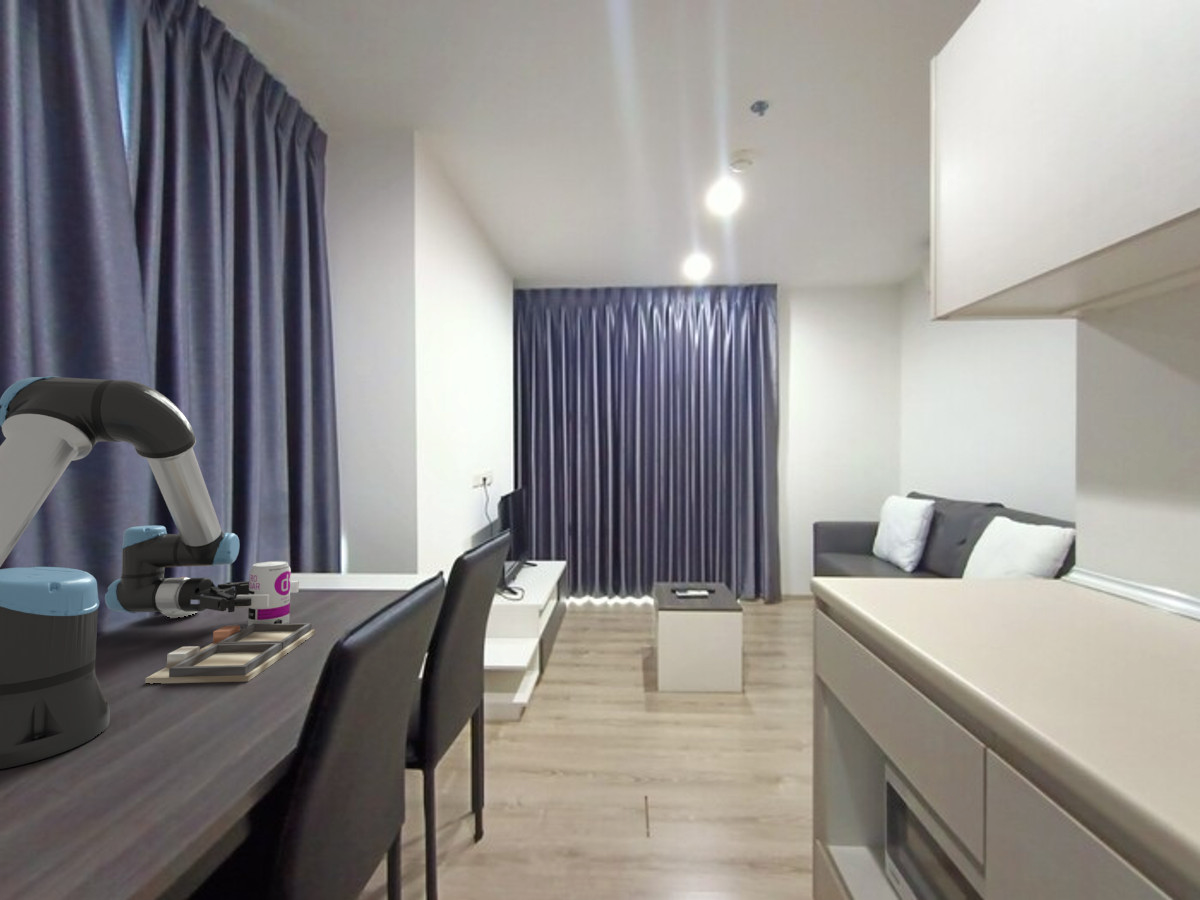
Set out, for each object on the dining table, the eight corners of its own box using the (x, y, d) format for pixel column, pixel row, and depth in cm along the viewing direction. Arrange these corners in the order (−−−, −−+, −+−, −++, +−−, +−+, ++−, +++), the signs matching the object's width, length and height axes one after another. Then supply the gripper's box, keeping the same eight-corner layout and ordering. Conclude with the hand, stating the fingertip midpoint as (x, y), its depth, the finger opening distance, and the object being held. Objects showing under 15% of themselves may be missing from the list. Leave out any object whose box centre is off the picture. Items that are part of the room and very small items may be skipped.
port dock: (248, 681, 93) (248, 661, 93) (145, 683, 91) (145, 663, 91) (315, 633, 119) (315, 618, 119) (235, 635, 117) (236, 619, 117)
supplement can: (297, 623, 126) (298, 560, 127) (272, 634, 118) (274, 567, 118) (265, 622, 127) (267, 559, 127) (238, 633, 119) (240, 566, 119)
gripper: (221, 597, 133) (308, 596, 135) (145, 627, 109) (253, 625, 111) (221, 567, 134) (308, 567, 136) (146, 591, 109) (254, 590, 111)
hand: (284, 593), depth 123 cm, fingers open, 13 cm apart
